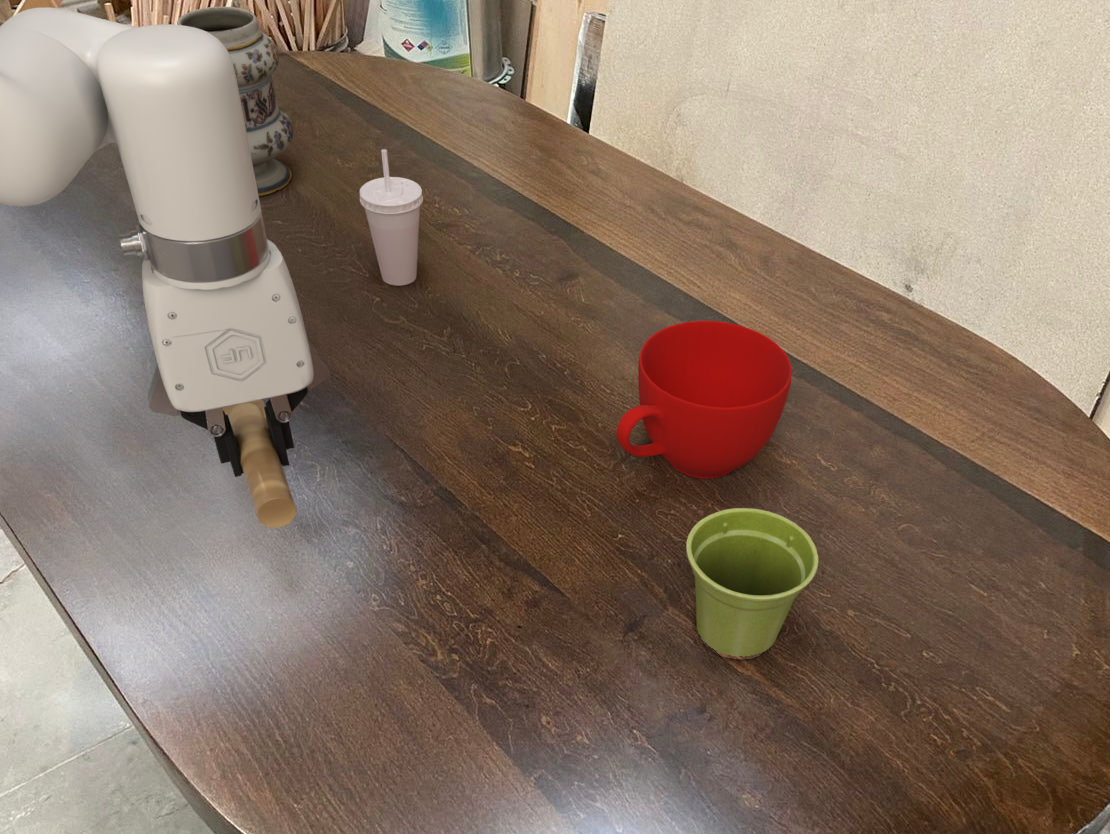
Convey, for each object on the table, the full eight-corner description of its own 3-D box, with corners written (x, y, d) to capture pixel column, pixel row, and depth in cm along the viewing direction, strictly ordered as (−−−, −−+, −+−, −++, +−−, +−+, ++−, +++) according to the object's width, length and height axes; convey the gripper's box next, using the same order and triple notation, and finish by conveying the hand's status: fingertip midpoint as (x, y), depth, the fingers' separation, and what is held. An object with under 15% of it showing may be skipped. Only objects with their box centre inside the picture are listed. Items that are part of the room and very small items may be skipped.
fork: (305, 521, 79) (299, 493, 77) (255, 533, 78) (248, 504, 76) (252, 372, 91) (246, 344, 89) (209, 380, 90) (201, 352, 88)
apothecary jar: (214, 153, 133) (179, -5, 120) (310, 159, 133) (286, 2, 120) (184, 199, 125) (144, 34, 112) (287, 205, 125) (259, 41, 112)
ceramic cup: (567, 462, 95) (570, 368, 88) (704, 395, 103) (717, 304, 96) (665, 542, 89) (677, 448, 82) (803, 464, 97) (825, 371, 89)
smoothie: (358, 285, 114) (342, 155, 104) (384, 257, 118) (371, 129, 108) (414, 297, 113) (402, 167, 103) (438, 268, 117) (429, 140, 107)
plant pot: (668, 588, 85) (679, 507, 79) (784, 586, 86) (804, 506, 80) (682, 680, 79) (695, 599, 72) (807, 677, 80) (831, 597, 73)
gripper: (79, 290, 65) (156, 516, 78) (345, 248, 70) (374, 466, 83) (68, 232, 69) (142, 454, 83) (317, 196, 74) (349, 411, 88)
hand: (258, 458), depth 83 cm, fingers closed on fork, 2 cm apart
